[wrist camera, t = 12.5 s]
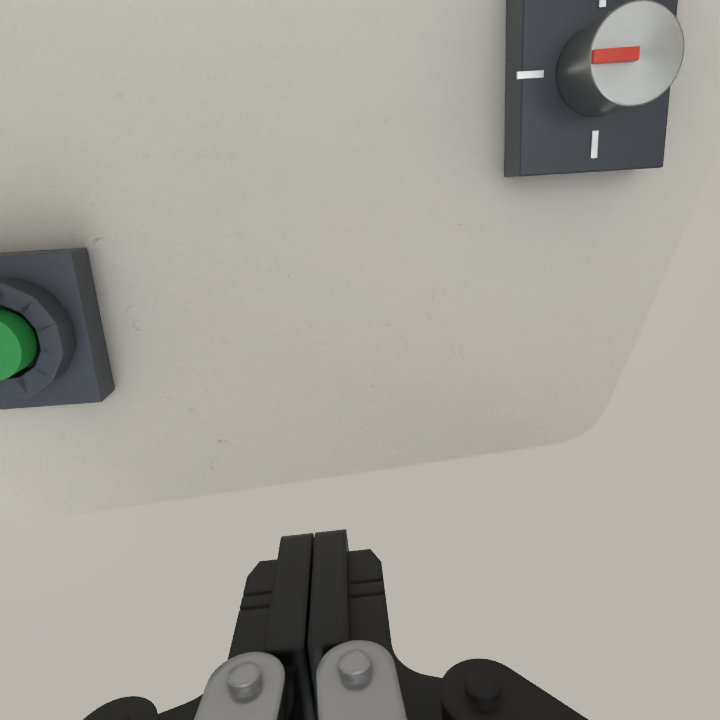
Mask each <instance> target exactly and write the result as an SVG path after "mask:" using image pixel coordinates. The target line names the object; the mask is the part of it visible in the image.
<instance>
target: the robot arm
mask: <svg viewBox="0 0 720 720" xmlns="http://www.w3.org/2000/svg"><path fill="white" fill-rule="evenodd" d="M243 594H244V595H243V598H242V602H241V606H240V611H239V614H238V618H237V623H236V627H235V631H234V635H233V640H232V644H231V648H230V652H229V657H228V661H226V662H225V663H223V664H222V665H220V666H219V667H218V668H217V669H216V670H215V671H214V672H213V674H212V675H211V677H210V678H209V680H208V683H207V685H206V687H205V690H204V693H203V694H202V695H201V696H199V697H198V698H196V699H194V700H192V701H190V702H188V703H186V704H183V705H180V706H178V707H175V708H173V709H170V710H168V711H165V712H162V713H160V714H158V713H157V709H156V707H155V706H154V704H153V703H152V702H151V701H149V700H147V699H146V698H142V697H135V696H131V697H124V698H119V699H116V700H113V701H111V702H109V703H106V704H104V705H103V706H101V707H99V708H98V709H96V710H95V711H93V712H92V713H91V714H89V715H88V716H87V717H86V718H84V719H83V720H588V719H586V718H585V717H583V716H582V715H580V714H579V713H577V712H576V711H574V710H573V709H571V708H569V707H568V706H567V705H565V704H563V703H562V702H560V701H559V700H557V699H556V698H554V697H553V696H551V695H550V694H548V693H547V692H545V691H544V690H542V689H541V688H539V687H537V686H536V685H534V684H533V683H531V682H530V681H528V680H526V679H525V678H524V677H522V676H521V675H519V674H518V673H516V672H515V671H513V670H511V669H510V668H508V667H507V666H505V665H503V664H501V663H498V662H496V661H492V660H488V659H470V660H466V661H462V662H460V663H458V664H456V665H454V666H453V667H452V668H450V669H449V670H448V671H447V672H446V674H445V675H444V677H443V678H439V677H433V676H428V675H423V674H420V673H417V672H415V671H413V670H411V669H409V668H407V667H406V666H405V665H403V664H402V663H401V662H400V661H399V660H398V659H397V657H396V656H395V654H394V651H393V649H392V645H391V638H390V630H389V621H388V613H387V605H386V597H385V589H384V581H383V573H382V565H381V561H380V560H379V559H378V558H377V557H376V555H375V554H374V553H373V552H372V551H371V549H367V550H358V551H349V549H348V540H347V533H346V529H345V530H336V531H327V532H317V533H315V538H314V535H313V533H310V534H301V535H291V536H283V537H281V541H280V547H279V553H278V559H277V560H268V561H260V562H259V563H258V564H257V566H256V567H255V568H254V569H253V571H252V572H251V573H250V574H249V575H248V577H247V581H246V585H245V589H244V593H243Z"/></svg>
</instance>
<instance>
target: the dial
mask: <svg viewBox="0 0 720 720" xmlns="http://www.w3.org/2000/svg"><path fill="white" fill-rule="evenodd" d="M683 55H684V37H683V32H682V29H681V26H680V24H679V22H678V20H677V18H676V17H675V15H674V14H673V13H672V12H671V11H670V10H669V9H668V8H667V7H665V6H664V5H662V4H660V3H658V2H655V1H651V0H634V1H630V2H627V3H625V4H623V5H621V6H619V7H617V8H616V9H614V10H613V11H611V12H609V13H608V14H606V15H604V16H603V17H601V18H600V19H598V20H596V21H595V22H593V23H592V24H590V25H588V26H587V27H585V28H584V29H582V30H580V31H579V32H578V33H576V34H575V35H574V36H573V37H572V38H571V39H570V41H569V42H568V43H567V45H566V46H565V48H564V50H563V52H562V54H561V56H560V60H559V63H558V69H557V81H558V86H559V90H560V93H561V95H562V97H563V99H564V100H565V102H566V103H567V104H568V105H569V106H570V107H571V108H572V109H573V110H575V111H576V112H578V113H580V114H583V115H586V116H603V115H606V114H610V113H614V112H618V111H622V110H626V109H629V108H633V107H637V106H641V105H644V104H647V103H649V102H651V101H653V100H655V99H656V98H658V97H659V96H660V95H662V94H663V93H664V92H665V91H666V90H667V89H668V88H669V86H670V85H671V84H672V82H673V81H674V79H675V78H676V76H677V74H678V72H679V70H680V67H681V64H682V60H683Z"/></svg>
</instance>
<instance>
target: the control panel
mask: <svg viewBox="0 0 720 720" xmlns="http://www.w3.org/2000/svg"><path fill="white" fill-rule="evenodd" d="M630 1H634V0H507V5H506V81H505V157H504V176H505V177H518V176H534V175H550V174H566V173H582V172H598V171H614V170H630V169H646V168H661V167H663V159H664V148H665V137H666V125H667V114H668V103H669V92H670V86H669V88H668V89H667V90H666V91H665V92H664V93H663V94H662V95H660V96H659V97H658V98H656V99H655V100H653V101H651V102H649V103H647V104H644V105H641V106H637V107H633V108H629V109H626V110H622V111H618V112H614V113H610V114H606V115H603V116H586V115H583V114H580V113H578V112H576V111H575V110H573V109H572V108H571V107H570V106H569V105H568V104H567V103H566V102H565V100H564V99H563V97H562V95H561V93H560V90H559V86H558V81H557V69H558V63H559V60H560V56H561V54H562V52H563V50H564V48H565V46H566V45H567V43H568V42H569V41H570V39H571V38H572V37H573V36H574V35H575V34H576V33H578V32H579V31H580V30H582V29H584V28H585V27H587V26H588V25H590V24H592V23H593V22H595V21H596V20H598V19H600V18H601V17H603V16H604V15H606V14H608V13H609V12H611V11H613V10H614V9H616V8H617V7H619V6H621V5H623V4H625V3H627V2H630ZM651 1H655V2H658V3H660V4H662V5H664V6H665V7H667V8H668V9H669V10H670V11H671V12H672V13H673V14H674V15H675V17H676V14H677V3H678V0H651Z"/></svg>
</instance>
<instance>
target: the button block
mask: <svg viewBox="0 0 720 720" xmlns="http://www.w3.org/2000/svg"><path fill="white" fill-rule="evenodd" d="M0 310H6V311H10V312H13V313H15V314H17V315H19V316H20V317H22V318H23V319H24V320H25V321H26V322H27V323H28V324H29V325H30V326H31V328H32V330H33V331H34V334H35V336H36V340H37V351H36V355H35V357H34V359H33V360H32V362H31V363H30V364H29V365H28V366H27V367H25V368H24V369H22V370H20V371H19V372H17V373H15V374H14V375H12V376H10V377H9V378H7V379H4V380H1V381H0V409H13V408H26V407H40V406H53V405H67V404H80V403H94V402H102V401H103V400H104V399H105V398H106V397H107V396H108V395H110V394H111V393H112V392H113V391H114V384H113V379H112V374H111V369H110V364H109V359H108V354H107V349H106V344H105V338H104V333H103V328H102V323H101V318H100V313H99V308H98V303H97V298H96V293H95V288H94V283H93V277H92V272H91V267H90V262H89V257H88V252H87V248H73V249H58V250H42V251H27V252H12V253H0Z"/></svg>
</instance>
